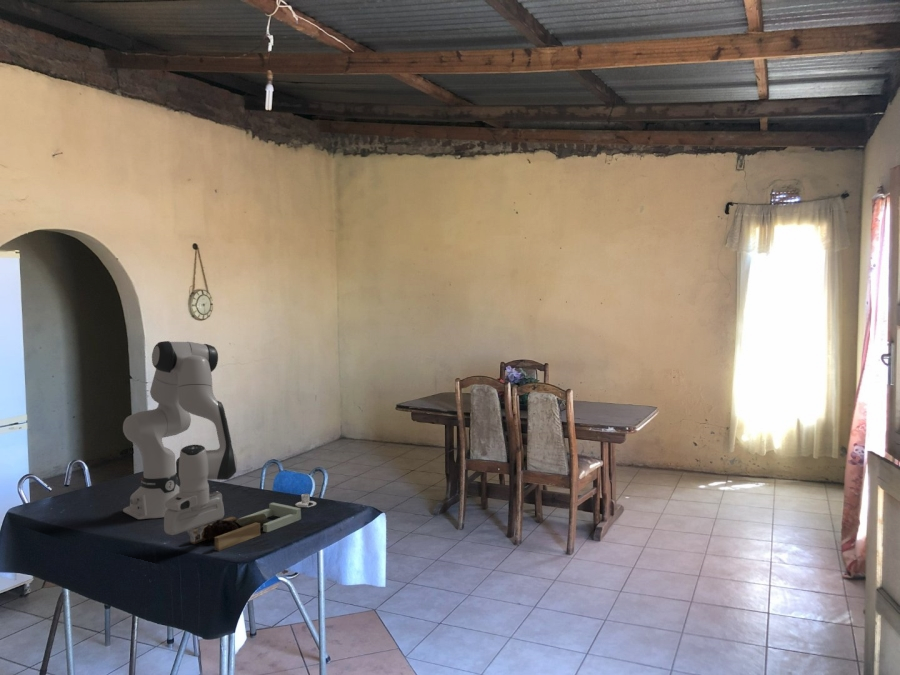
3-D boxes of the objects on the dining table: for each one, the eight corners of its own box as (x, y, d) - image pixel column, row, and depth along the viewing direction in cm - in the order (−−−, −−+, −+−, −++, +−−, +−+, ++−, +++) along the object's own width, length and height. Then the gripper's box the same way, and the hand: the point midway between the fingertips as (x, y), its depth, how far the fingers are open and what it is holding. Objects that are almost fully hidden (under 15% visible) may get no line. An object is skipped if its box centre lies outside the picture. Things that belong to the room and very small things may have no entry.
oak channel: (190, 542, 226) (190, 530, 226) (232, 527, 240) (232, 516, 240) (219, 550, 218) (218, 538, 218) (260, 535, 233) (260, 523, 232)
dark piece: (259, 526, 243) (259, 507, 242) (270, 532, 237) (270, 512, 236) (201, 540, 228) (201, 520, 228) (212, 547, 223) (211, 526, 222)
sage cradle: (239, 525, 243) (238, 514, 242) (273, 513, 256) (273, 502, 256) (267, 532, 235) (266, 520, 235) (301, 519, 249) (300, 508, 248)
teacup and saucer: (304, 510, 261) (304, 499, 260) (289, 506, 265) (289, 496, 265) (320, 504, 268) (320, 493, 268) (305, 501, 272) (305, 490, 272)
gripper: (215, 488, 229) (216, 529, 230) (160, 504, 212) (161, 548, 213) (227, 490, 226) (229, 532, 226) (172, 507, 208) (174, 552, 209)
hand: (196, 540), depth 219 cm, fingers closed
